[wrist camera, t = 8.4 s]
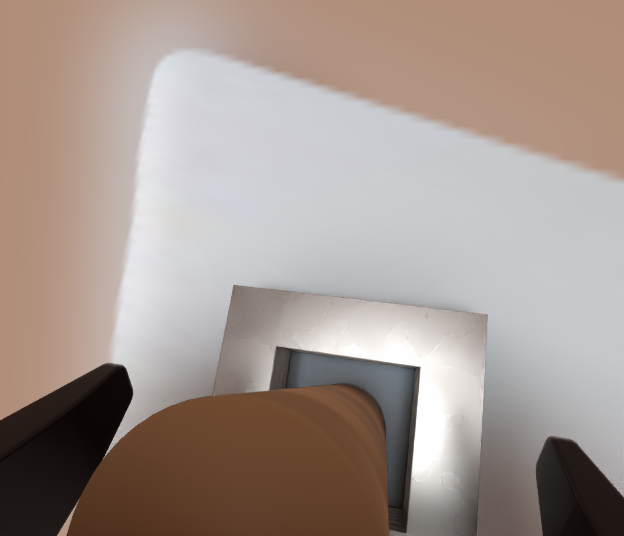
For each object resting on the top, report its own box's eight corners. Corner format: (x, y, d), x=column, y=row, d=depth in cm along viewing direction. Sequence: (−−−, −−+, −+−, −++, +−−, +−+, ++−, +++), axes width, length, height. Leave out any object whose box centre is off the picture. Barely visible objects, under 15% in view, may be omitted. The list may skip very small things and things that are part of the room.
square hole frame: (456, 586, 14) (471, 627, 12) (211, 527, 16) (181, 553, 14) (472, 323, 16) (487, 314, 14) (253, 297, 18) (233, 285, 16)
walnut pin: (380, 479, 16) (368, 863, 3) (296, 463, 16) (17, 730, 4) (389, 390, 16) (407, 424, 4) (309, 378, 17) (107, 373, 5)
